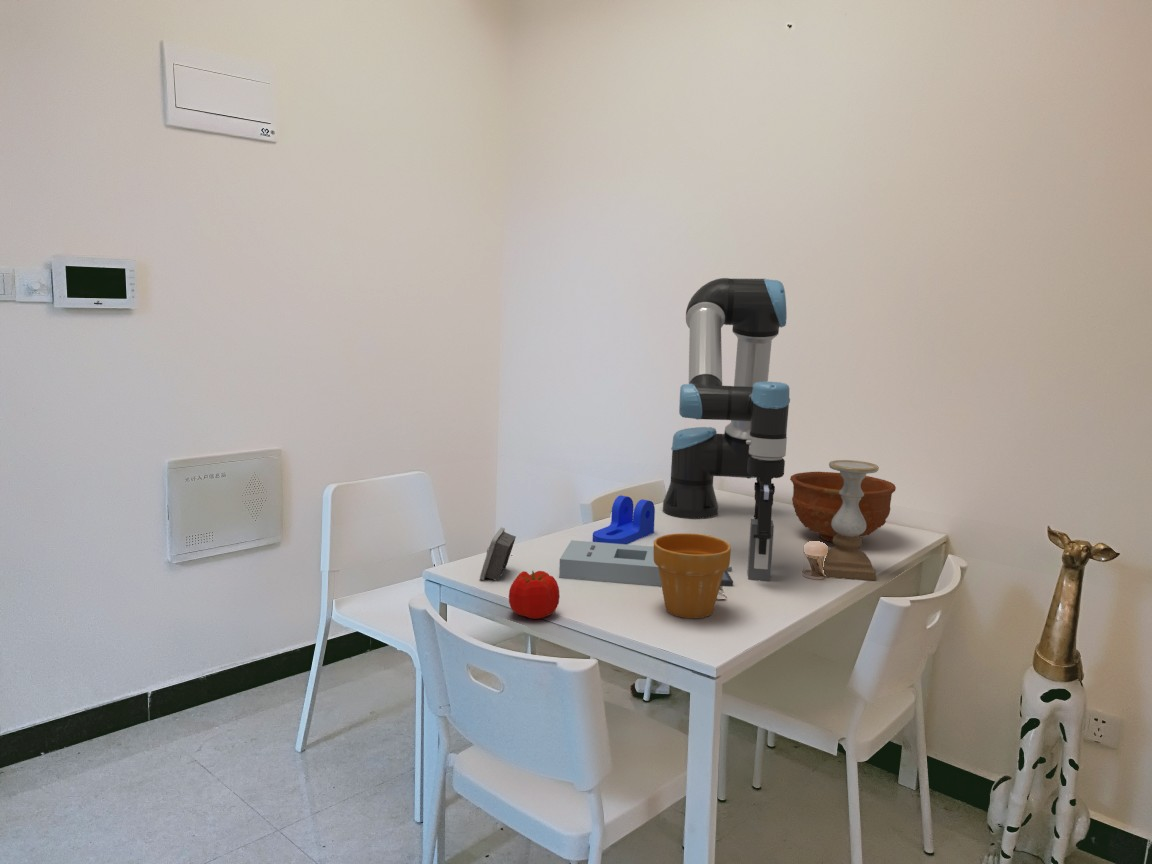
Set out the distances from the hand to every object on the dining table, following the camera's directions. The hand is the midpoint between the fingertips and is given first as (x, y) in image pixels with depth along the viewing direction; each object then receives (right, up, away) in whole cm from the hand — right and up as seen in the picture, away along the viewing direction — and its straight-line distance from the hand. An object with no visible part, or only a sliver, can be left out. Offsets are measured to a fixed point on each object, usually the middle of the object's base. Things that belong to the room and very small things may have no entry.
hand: (759, 561), depth 175 cm
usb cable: (-12, -2, +6) cm, 14 cm away
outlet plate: (-30, -2, +1) cm, 30 cm away
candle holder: (+20, -3, +6) cm, 21 cm away
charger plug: (0, -3, +1) cm, 3 cm away
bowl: (+26, 0, +31) cm, 41 cm away
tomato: (-47, -6, -24) cm, 53 cm away
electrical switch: (-55, -3, -3) cm, 55 cm away
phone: (-14, -3, -2) cm, 14 cm away
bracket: (-28, +1, +27) cm, 39 cm away
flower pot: (-18, -6, -20) cm, 27 cm away
